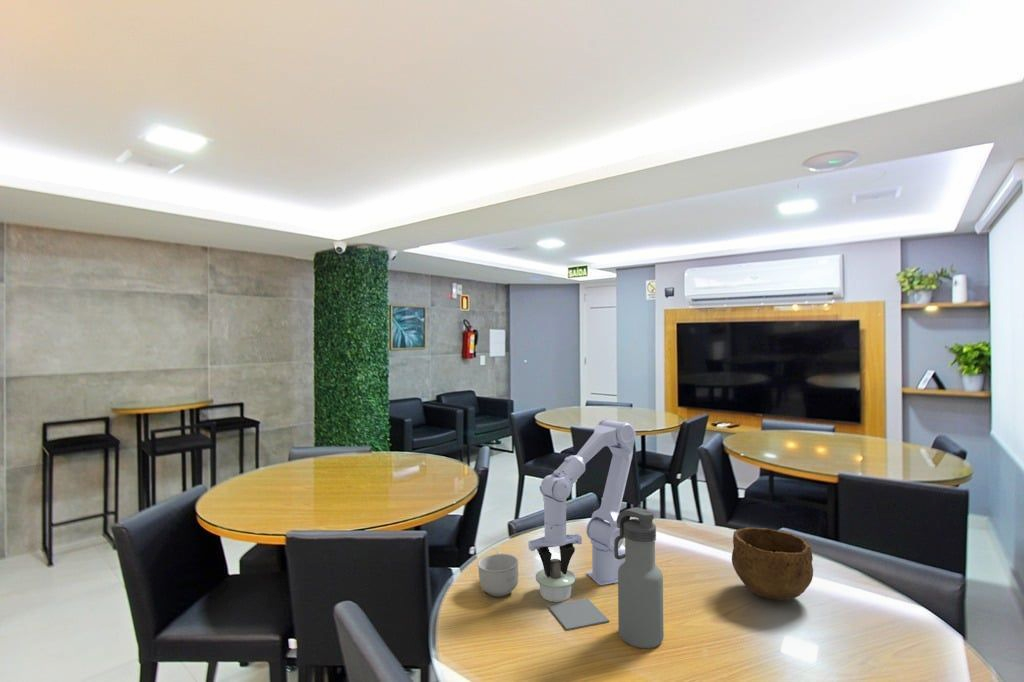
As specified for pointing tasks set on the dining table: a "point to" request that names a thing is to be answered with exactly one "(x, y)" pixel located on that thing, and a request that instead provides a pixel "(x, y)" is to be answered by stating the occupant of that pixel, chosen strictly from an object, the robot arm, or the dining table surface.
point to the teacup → (498, 573)
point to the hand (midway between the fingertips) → (555, 574)
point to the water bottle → (639, 581)
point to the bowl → (772, 562)
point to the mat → (578, 614)
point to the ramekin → (555, 593)
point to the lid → (555, 576)
